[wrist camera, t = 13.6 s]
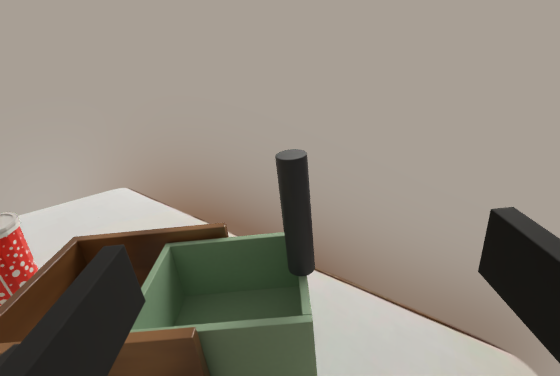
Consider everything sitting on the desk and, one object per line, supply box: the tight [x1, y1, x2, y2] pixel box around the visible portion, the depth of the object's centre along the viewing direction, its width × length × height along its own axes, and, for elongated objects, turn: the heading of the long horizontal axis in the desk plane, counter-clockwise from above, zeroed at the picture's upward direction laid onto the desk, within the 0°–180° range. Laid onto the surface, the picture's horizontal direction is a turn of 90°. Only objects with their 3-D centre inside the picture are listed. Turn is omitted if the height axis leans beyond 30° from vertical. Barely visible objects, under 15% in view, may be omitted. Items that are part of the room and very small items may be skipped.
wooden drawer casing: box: [0, 223, 228, 376], centre depth 25 cm, size 15×13×8 cm
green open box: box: [130, 149, 317, 376], centre depth 23 cm, size 13×10×16 cm
